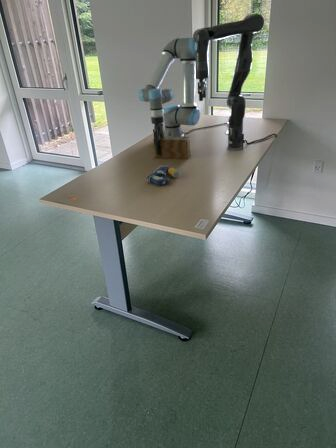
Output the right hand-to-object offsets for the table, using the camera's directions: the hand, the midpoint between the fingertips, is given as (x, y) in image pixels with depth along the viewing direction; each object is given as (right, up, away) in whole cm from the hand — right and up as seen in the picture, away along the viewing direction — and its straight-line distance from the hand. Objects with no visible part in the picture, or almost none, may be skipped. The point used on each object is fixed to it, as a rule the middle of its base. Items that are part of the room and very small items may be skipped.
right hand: (202, 99), depth 198 cm
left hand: (-25, -28, +18) cm, 42 cm away
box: (-18, -31, +17) cm, 39 cm away
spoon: (+30, +1, +62) cm, 69 cm away
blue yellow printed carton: (-22, -49, -12) cm, 55 cm away
